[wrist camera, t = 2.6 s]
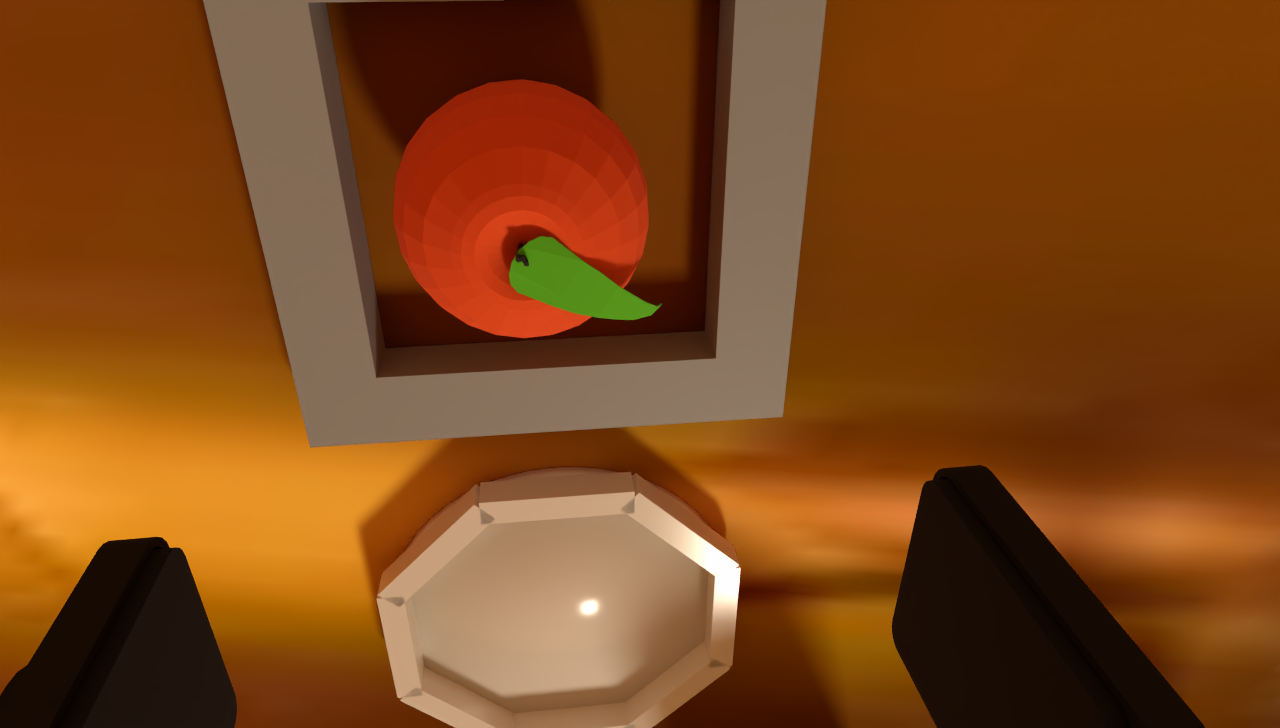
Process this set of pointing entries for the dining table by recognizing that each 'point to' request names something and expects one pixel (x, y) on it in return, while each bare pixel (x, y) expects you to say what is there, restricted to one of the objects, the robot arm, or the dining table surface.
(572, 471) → the saucer
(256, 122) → the pocket frame
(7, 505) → the dining table surface
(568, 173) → the clementine
